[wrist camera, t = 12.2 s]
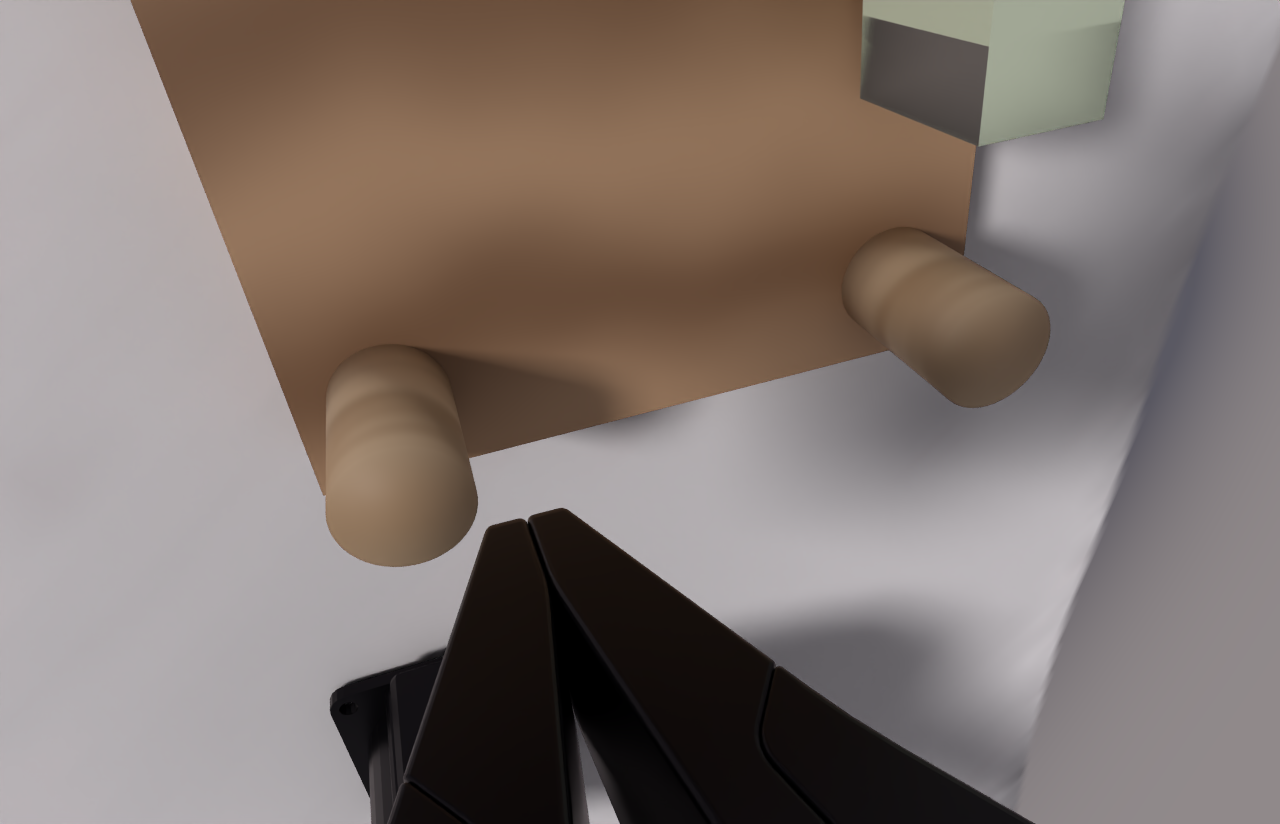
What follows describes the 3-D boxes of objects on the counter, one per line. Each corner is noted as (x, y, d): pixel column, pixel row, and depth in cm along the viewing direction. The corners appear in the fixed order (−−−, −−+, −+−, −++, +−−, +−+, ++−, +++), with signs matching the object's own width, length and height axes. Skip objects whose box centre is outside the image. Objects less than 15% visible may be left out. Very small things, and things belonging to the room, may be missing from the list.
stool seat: (920, 300, 24) (1071, 407, 19) (323, 448, 21) (322, 621, 16) (1004, -691, 14) (1362, -994, 9) (-105, -696, 11) (-450, -1157, 6)
